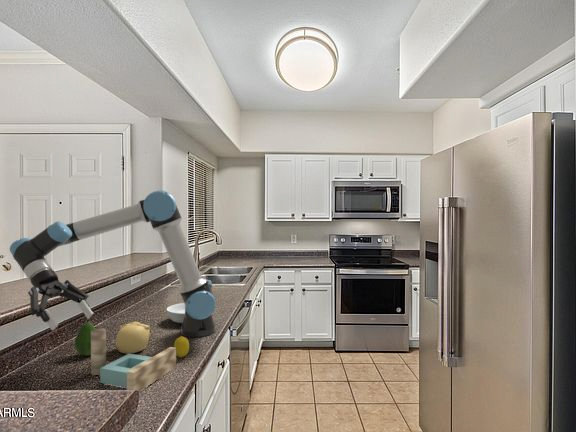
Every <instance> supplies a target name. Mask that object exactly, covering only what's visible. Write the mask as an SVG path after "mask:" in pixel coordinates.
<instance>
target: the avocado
mask: <svg viewBox="0 0 576 432" xmlns="http://www.w3.org/2000/svg"><path fill="white" fill-rule="evenodd" d="M95 329H96V328H95V325H94V324H93V323H91V322H86V323H84V324H83V325H81V327H80V328H79V330H78V332H77V334H76V337H75V339H74V348H75V350H76V352H77V353H78V354H79V355H81V356H86V357H90V356H91V331H92V330H95Z"/></svg>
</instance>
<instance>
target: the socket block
mask: <svg viewBox="0 0 576 432" xmlns="http://www.w3.org/2000/svg"><path fill="white" fill-rule="evenodd" d="M152 357H153V356H147V355H141V354H140V355H139V354H135V353H131V354H125V355H123V356H121V357H119V358H118V359H116V360H113V361H111V362H109V363H108V364H107V363H106V365H105V366H103V367H102V368H100V375H99V377H100V379H99V380H100V381H99V382H100V383H105V384H112V385H117V386H121V387H125V388H127V371H129V370H131V369H132V368H134V367H136V366H138V365H139V364H141V363H143V362H145V361H146V360H148V359H150V358H152ZM100 383H99V384H100Z"/></svg>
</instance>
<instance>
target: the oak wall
mask: <svg viewBox="0 0 576 432" xmlns="http://www.w3.org/2000/svg"><path fill="white" fill-rule="evenodd" d="M151 357H152V358H150V359H148V360H146V361H145V362H143V363H141V364H139V365H138V366H136V367H134V368H132V369H131V370H129V371H127V389H126V391H127V390H138V391H139V390H140V391H141V390H142V389H144V388H145V387H147V386H148V385H150V384H152V383H153V382H155V381H156V380H158V379H159V378H161V377H162V376H163V375H165V374H166V373H168V372H169V371H171V370H172V369H174V368H175V367H176V368H177V355H176V348H174V346H169V347H167V348H166V349H163V350H162V351H161V352H159V353H157V354H155V355H154V356H151ZM174 370H175V369H174ZM171 372H172V371H171ZM168 374H169V373H168ZM165 376H166V375H165ZM162 378H163V377H162ZM162 378H161V379H162ZM159 380H160V379H159ZM159 380H158V381H159ZM156 382H157V381H156ZM156 382H155V383H156ZM153 384H154V383H153ZM153 384H152V385H153ZM140 391H139V392H140ZM140 393H141V392H140Z"/></svg>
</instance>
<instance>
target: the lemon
mask: <svg viewBox="0 0 576 432" xmlns="http://www.w3.org/2000/svg"><path fill="white" fill-rule="evenodd" d="M173 343H174V344H173V347H174V348H176V357H179V358H181V359H182V357H183V358H184V357H186V356H187V355H188V353H189V350H190V341H189V340H188V337H186V336H184V335H180V337H178V338H177V337H176V339H175V341H174V342H173Z"/></svg>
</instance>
